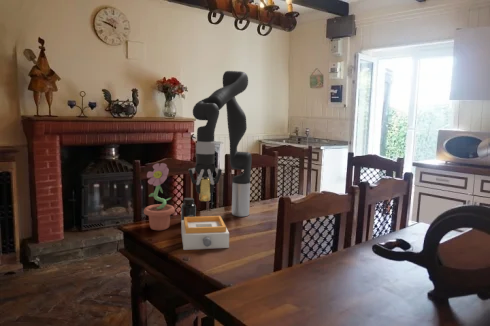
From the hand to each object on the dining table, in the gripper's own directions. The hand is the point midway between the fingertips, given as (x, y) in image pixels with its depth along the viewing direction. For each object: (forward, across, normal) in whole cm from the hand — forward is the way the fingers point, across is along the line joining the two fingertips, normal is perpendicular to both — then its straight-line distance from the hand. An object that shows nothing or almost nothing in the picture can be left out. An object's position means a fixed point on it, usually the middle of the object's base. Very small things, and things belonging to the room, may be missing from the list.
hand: (204, 193), depth 157 cm
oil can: (+3, 0, 0) cm, 3 cm away
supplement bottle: (+21, +5, -25) cm, 33 cm away
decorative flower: (+21, +19, -19) cm, 34 cm away
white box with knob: (+20, 0, +1) cm, 20 cm away
